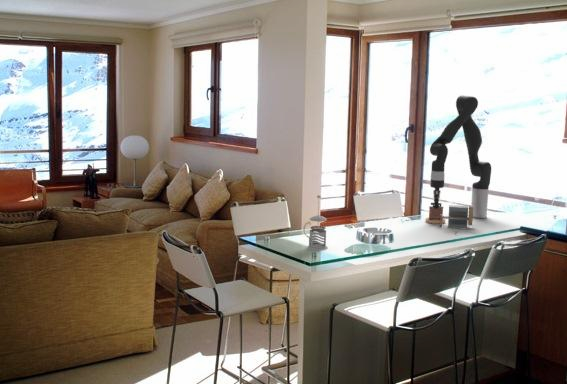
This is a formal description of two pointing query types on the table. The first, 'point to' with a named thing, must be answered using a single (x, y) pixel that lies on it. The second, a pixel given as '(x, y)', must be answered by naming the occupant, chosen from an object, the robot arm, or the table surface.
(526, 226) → the table surface
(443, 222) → the coaster
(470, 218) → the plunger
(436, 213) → the lighter
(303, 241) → the table surface
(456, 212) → the grey box
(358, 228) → the table surface
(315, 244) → the french press
